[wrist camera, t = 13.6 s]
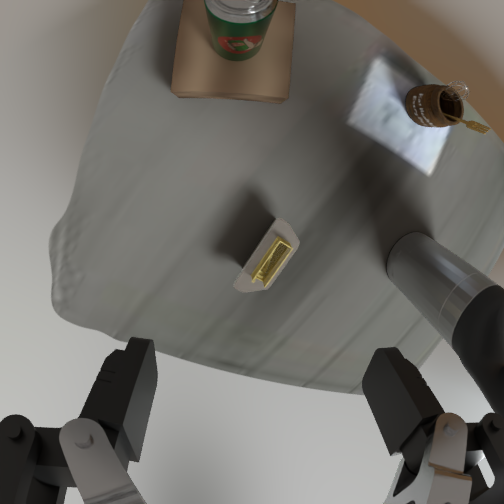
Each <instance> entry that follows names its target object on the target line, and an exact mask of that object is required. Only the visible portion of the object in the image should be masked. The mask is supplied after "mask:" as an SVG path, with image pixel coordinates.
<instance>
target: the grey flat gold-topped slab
mask: <svg viewBox="0 0 504 504" xmlns="http://www.w3.org/2000/svg"><path fill="white" fill-rule="evenodd" d="M278 241H279V242H278ZM277 242H278V243H277ZM280 243H281V244H280ZM299 243H300V242H299V240H298V238H297V236H296V235H295V233H294V231H293V230H292V228H291V226H290V225H289V223H288V222H286V221H285V220H283V219H281V218H278V219H276V218H275V219H274V221H273V222H272V224H271V225H270V227H269V228H268V230H267V231H266V233H265V234H264V236H263V237H262V239H261V240H260V242H259V243H258V245H257V246H256V248H255V249H254V251H253V252H252V254H251V255H250V257H249V258H248V260H247V261H246V263H245V264H244V266H243V267H242V271H241V272H240V274H239V275H238V277H237V278H236V280H235V281H234V288H235V289H237V290H239V291H241V292H252V291H259V290H266V289H269V287H270V286H271V285H272V283H273V282H274V281H275V279H276V278H277V276H278V275H279V274H280V272H281V271H282V270H283V268H284V267H285V265H286V264H287V263H288V261H289V260H290V258H291V257H292V256H293V254H294V253H295V251H296V250H297V249H298V247H299ZM276 244H277V245H276ZM279 244H280V245H279ZM282 244H283V245H282ZM278 245H279V246H278ZM281 245H282V246H281ZM284 245H285V246H284ZM280 246H281V247H280ZM283 246H284V247H283ZM279 247H280V248H279ZM282 247H283V248H282ZM285 247H286V248H285ZM278 248H279V249H278ZM281 248H282V249H281ZM284 248H285V249H284ZM277 249H278V250H277ZM280 249H281V250H280ZM283 249H284V251H283ZM275 250H276V251H275ZM279 250H280V251H279ZM274 251H275V252H274ZM278 251H279V252H278ZM282 251H283V252H282ZM277 252H278V253H277ZM281 252H282V253H281ZM276 253H277V254H276ZM280 253H281V254H280ZM272 254H273V255H274V256H273V255H272ZM275 254H276V255H275ZM279 254H280V255H279ZM278 255H279V256H278ZM272 256H273V257H272ZM276 256H277V257H276ZM271 257H272V259H271ZM275 257H276V258H275ZM274 258H275V259H274ZM273 259H274V260H273ZM272 260H273V261H272ZM276 260H277V261H276ZM270 261H271V262H270ZM275 261H276V262H275ZM274 262H275V263H274ZM273 263H274V264H273ZM268 265H269V266H270V265H271V266H270V267H269V266H268ZM267 268H268V269H267ZM261 270H262V271H261ZM269 270H270V271H269ZM268 271H269V272H268ZM265 272H267V273H265ZM264 275H265V277H264Z"/></svg>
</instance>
